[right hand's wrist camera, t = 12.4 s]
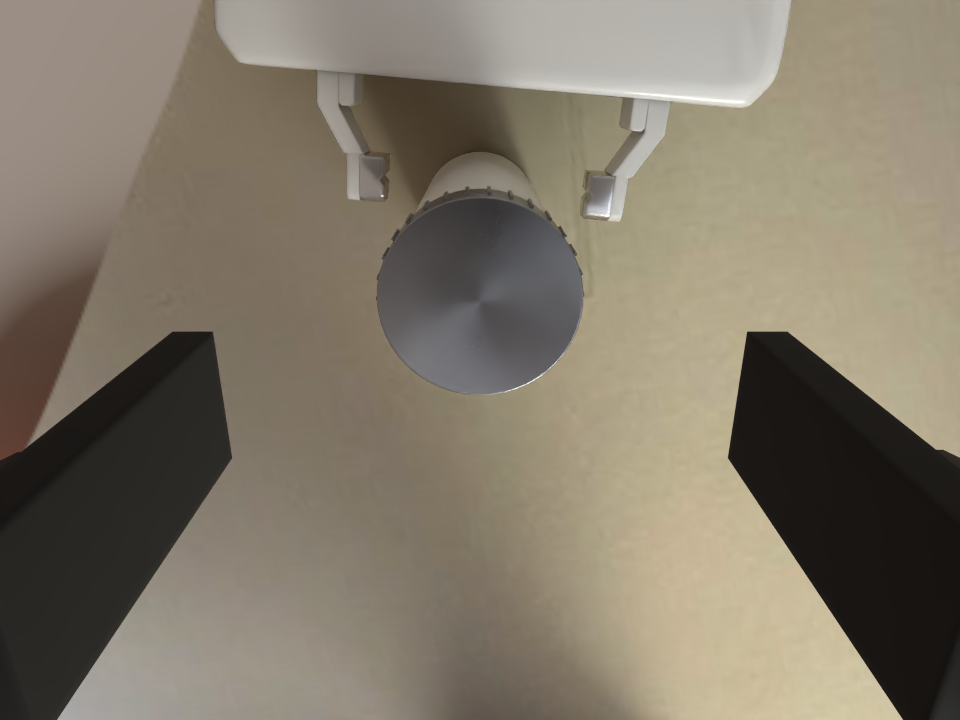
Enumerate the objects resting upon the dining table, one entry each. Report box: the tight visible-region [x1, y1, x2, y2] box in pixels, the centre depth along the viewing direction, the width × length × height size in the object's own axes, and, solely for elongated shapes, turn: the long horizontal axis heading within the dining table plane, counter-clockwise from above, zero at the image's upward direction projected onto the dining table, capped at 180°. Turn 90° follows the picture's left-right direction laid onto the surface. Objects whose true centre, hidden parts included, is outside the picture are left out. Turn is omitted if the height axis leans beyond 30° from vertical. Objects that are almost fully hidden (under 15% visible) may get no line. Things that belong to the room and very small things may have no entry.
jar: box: [415, 152, 545, 213], centre depth 27 cm, size 6×6×15 cm
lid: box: [376, 186, 584, 395], centre depth 20 cm, size 6×6×2 cm
